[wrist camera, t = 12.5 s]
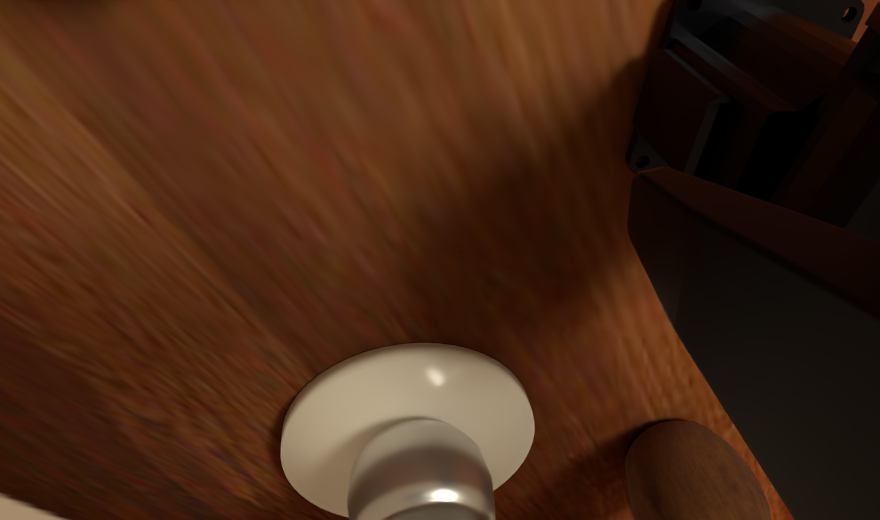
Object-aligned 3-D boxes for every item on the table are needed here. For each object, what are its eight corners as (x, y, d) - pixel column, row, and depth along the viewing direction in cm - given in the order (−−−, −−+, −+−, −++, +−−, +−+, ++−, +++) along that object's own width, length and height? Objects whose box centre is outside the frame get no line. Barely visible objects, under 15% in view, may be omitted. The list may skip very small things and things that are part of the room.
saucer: (552, 339, 29) (558, 354, 28) (507, 496, 36) (511, 512, 35) (275, 346, 27) (274, 363, 26) (286, 512, 34) (285, 530, 33)
